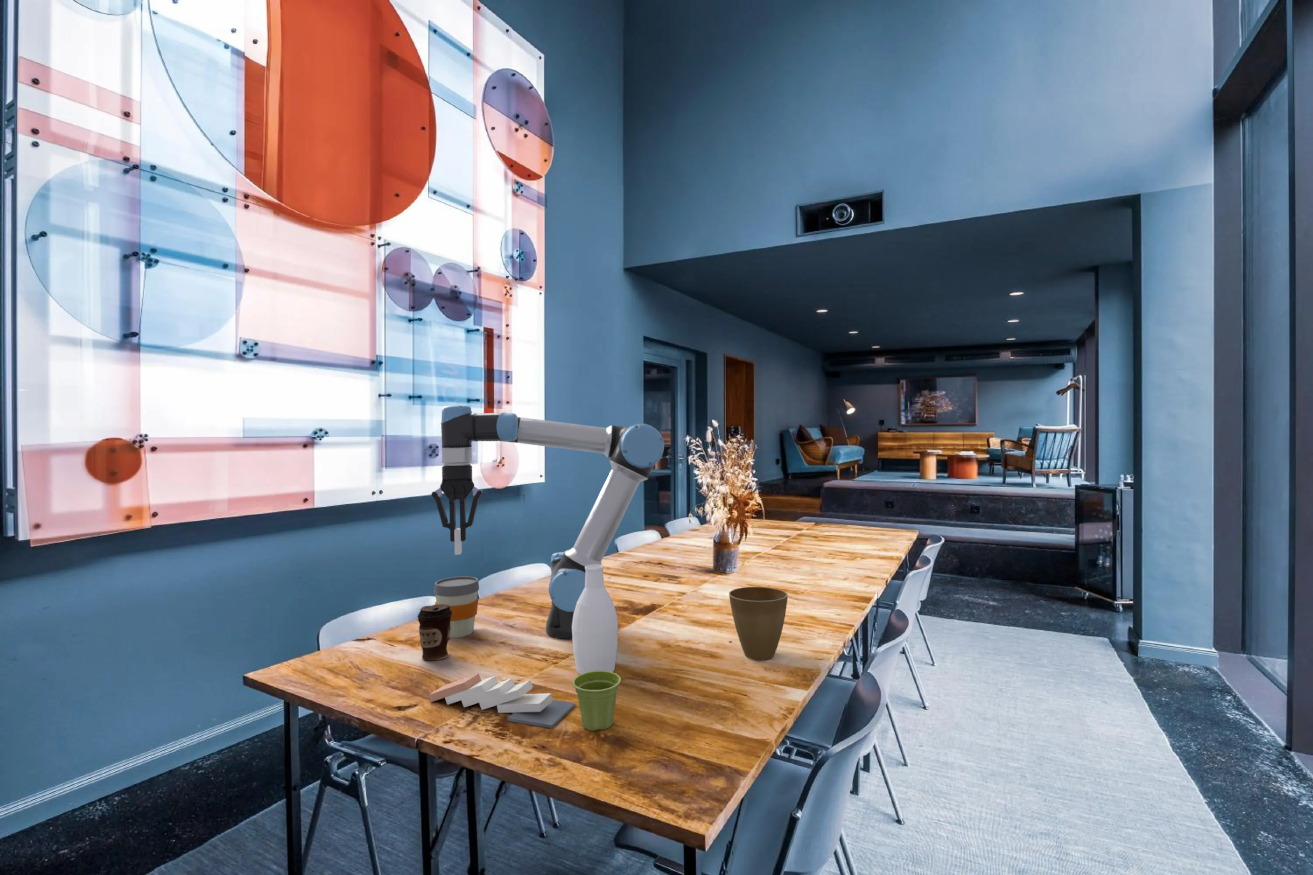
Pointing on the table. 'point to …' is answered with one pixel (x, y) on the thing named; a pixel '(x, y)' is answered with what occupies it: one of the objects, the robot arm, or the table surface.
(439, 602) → the reusable coffee cup
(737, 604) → the plant pot
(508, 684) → the domino
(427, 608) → the coffee cup
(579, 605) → the bottle
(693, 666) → the table surface
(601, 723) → the plant pot
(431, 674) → the table surface
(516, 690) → the domino
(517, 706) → the domino
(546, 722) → the slate coaster
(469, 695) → the domino
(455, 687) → the domino
